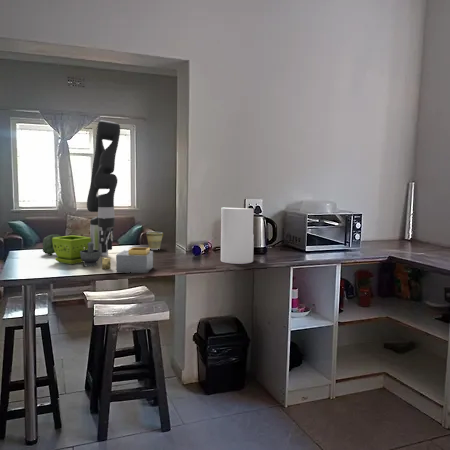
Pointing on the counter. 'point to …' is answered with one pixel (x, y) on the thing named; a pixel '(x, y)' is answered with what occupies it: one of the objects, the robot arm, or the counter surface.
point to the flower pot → (70, 248)
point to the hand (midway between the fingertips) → (106, 251)
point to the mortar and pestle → (90, 255)
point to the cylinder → (237, 235)
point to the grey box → (134, 260)
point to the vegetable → (49, 244)
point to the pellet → (106, 263)
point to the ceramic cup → (154, 240)
